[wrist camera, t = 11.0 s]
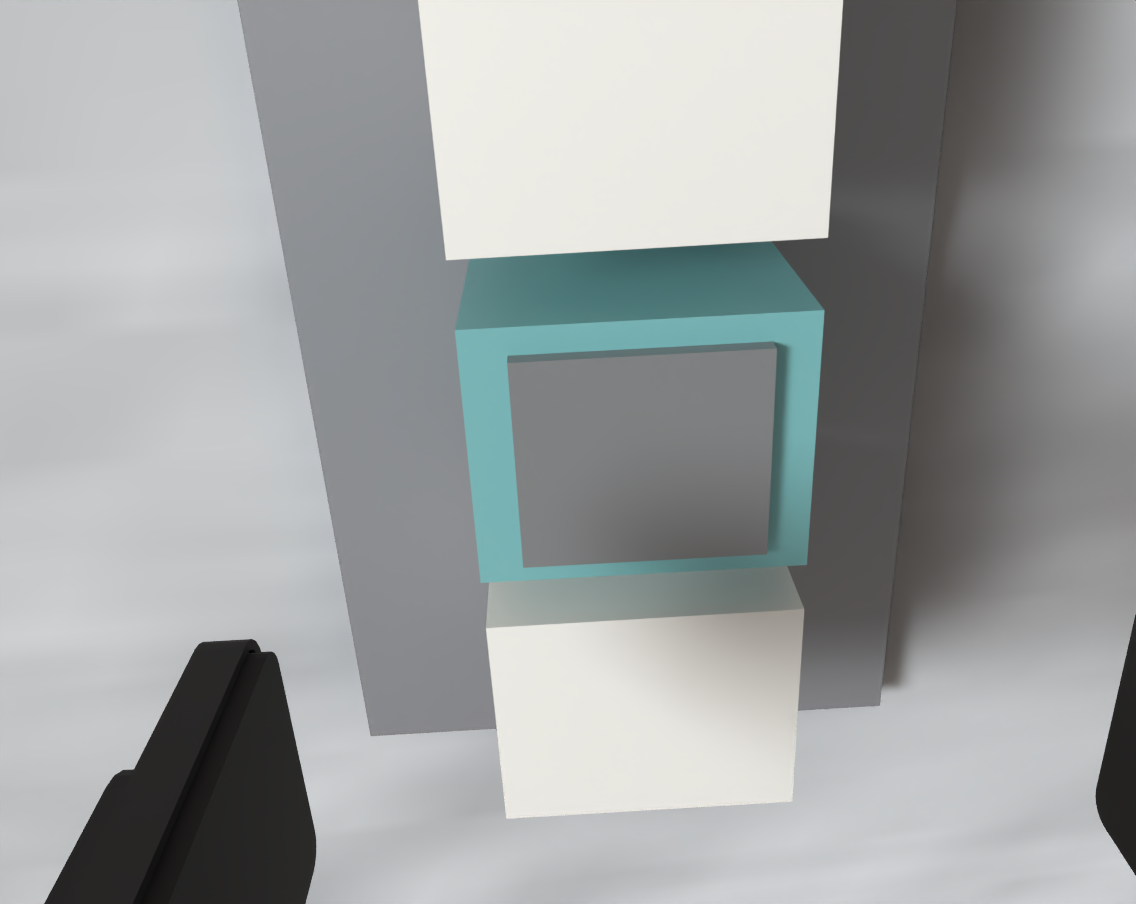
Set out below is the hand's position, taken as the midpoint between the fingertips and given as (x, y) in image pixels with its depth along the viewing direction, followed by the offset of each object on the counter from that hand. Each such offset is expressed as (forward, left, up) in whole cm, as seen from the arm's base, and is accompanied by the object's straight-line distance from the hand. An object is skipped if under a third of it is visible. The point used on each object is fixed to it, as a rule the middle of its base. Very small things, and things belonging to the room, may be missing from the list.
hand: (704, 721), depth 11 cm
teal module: (0, 0, -12) cm, 12 cm away
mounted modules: (0, -1, -12) cm, 12 cm away
